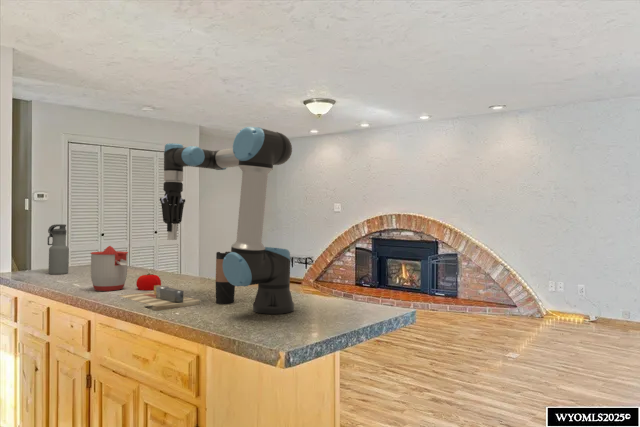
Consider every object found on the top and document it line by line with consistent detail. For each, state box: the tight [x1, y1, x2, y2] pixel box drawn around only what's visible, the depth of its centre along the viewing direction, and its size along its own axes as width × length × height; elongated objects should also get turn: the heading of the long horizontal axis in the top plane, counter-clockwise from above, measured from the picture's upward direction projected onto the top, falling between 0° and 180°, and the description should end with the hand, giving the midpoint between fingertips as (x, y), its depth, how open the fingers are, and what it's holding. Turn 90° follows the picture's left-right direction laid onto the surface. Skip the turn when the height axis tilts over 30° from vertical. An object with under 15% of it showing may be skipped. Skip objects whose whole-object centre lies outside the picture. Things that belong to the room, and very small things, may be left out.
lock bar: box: [156, 285, 185, 303], centre depth 174 cm, size 16×5×4 cm, turn 49°
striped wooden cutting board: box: [117, 290, 201, 312], centre depth 178 cm, size 31×18×2 cm, turn 49°
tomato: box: [135, 272, 162, 292], centre depth 199 cm, size 9×10×8 cm
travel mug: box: [215, 251, 236, 305], centre depth 179 cm, size 8×8×20 cm
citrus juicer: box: [90, 245, 129, 293], centre depth 205 cm, size 16×17×20 cm
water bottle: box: [47, 223, 70, 276], centre depth 256 cm, size 10×10×28 cm
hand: (172, 239), depth 184 cm, fingers closed
